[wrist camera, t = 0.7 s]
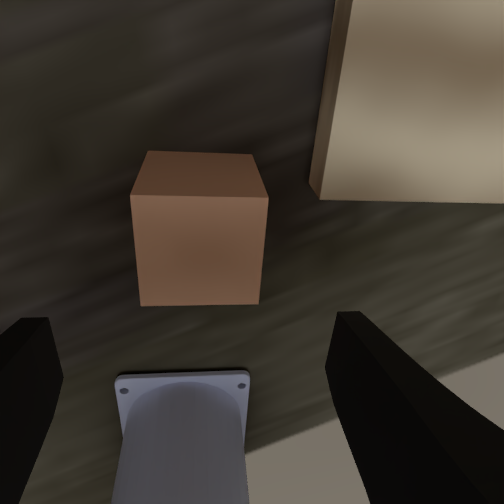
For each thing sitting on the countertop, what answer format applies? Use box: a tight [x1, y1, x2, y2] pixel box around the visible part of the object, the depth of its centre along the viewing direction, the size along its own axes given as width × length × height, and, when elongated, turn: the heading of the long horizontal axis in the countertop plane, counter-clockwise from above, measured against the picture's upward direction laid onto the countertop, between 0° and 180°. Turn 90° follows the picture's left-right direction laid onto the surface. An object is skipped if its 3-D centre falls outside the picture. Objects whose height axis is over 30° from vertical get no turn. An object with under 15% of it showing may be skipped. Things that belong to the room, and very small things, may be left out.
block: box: [130, 151, 269, 306], centre depth 16 cm, size 4×4×5 cm
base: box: [309, 0, 504, 203], centre depth 15 cm, size 10×10×2 cm
